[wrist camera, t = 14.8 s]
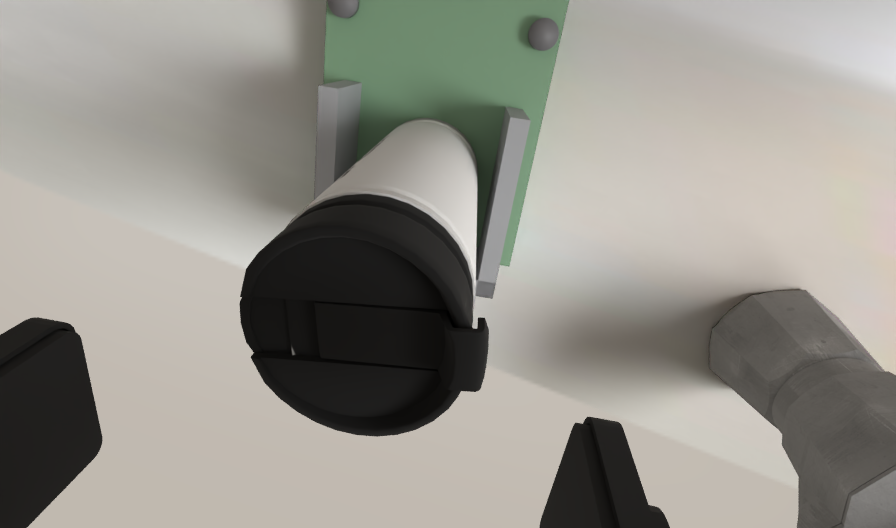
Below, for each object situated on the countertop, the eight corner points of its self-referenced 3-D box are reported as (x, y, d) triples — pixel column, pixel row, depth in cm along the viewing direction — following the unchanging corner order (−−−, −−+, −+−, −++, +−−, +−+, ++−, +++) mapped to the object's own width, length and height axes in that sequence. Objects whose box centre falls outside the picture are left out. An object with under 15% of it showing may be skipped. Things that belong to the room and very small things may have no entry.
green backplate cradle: (341, -36, 28) (295, -65, 21) (562, 0, 28) (588, -16, 21) (328, 222, 34) (290, 265, 27) (507, 252, 34) (513, 302, 27)
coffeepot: (703, 416, 39) (863, 680, 23) (660, 330, 36) (809, 562, 20) (911, 340, 35) (1288, 593, 19) (882, 235, 32) (1302, 428, 16)
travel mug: (480, 219, 31) (481, 463, 13) (379, 215, 31) (235, 446, 13) (486, 119, 28) (497, 240, 10) (375, 115, 29) (190, 226, 10)
